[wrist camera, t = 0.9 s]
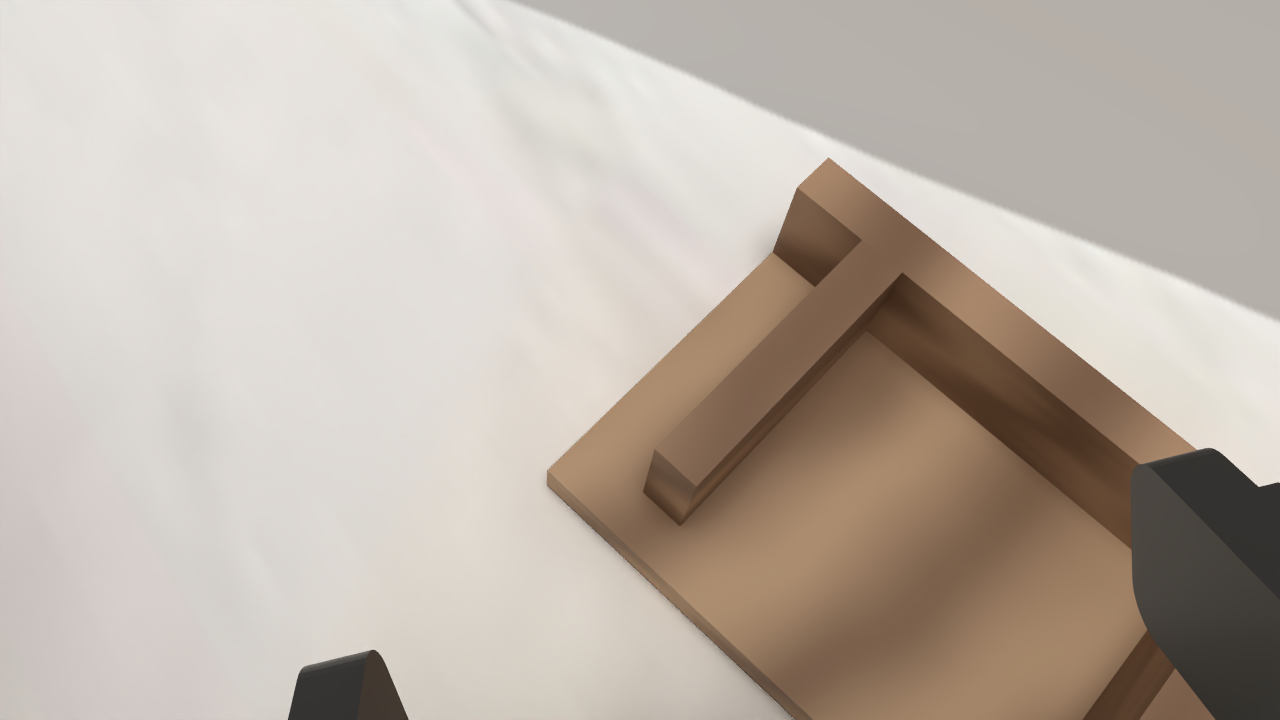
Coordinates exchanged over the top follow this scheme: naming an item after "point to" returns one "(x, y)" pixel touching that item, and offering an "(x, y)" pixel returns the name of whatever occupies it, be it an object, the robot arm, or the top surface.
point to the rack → (887, 487)
